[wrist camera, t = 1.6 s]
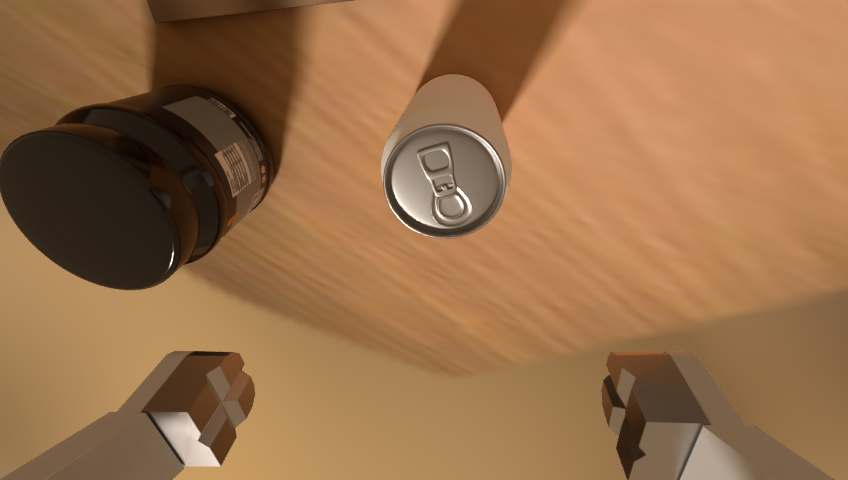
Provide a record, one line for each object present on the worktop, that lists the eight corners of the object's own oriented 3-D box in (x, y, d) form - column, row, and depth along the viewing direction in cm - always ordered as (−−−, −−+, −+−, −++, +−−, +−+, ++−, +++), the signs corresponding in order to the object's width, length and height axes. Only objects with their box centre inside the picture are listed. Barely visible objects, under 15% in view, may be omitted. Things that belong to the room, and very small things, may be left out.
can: (423, 173, 30) (401, 258, 20) (395, 89, 27) (351, 138, 17) (506, 150, 29) (528, 230, 18) (485, 59, 26) (498, 92, 15)
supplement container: (127, 149, 32) (-37, 216, 21) (184, 47, 27) (12, 69, 17) (237, 232, 35) (141, 326, 24) (304, 153, 30) (222, 227, 20)
